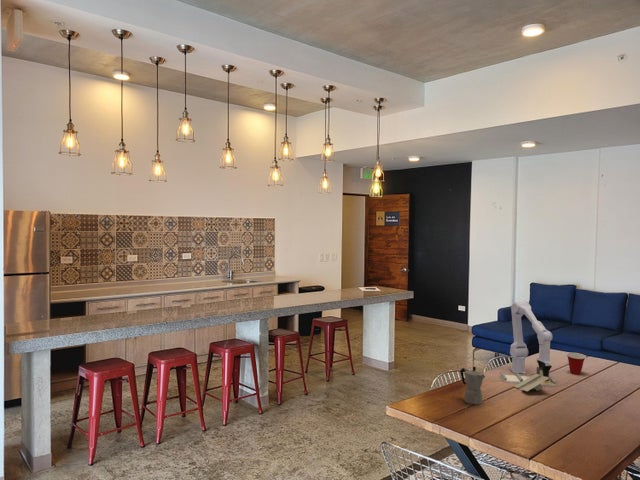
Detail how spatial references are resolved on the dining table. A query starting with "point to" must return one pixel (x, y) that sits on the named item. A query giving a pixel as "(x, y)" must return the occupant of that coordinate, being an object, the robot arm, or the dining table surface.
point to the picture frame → (541, 372)
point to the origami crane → (531, 383)
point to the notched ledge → (521, 378)
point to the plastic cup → (575, 362)
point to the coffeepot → (472, 385)
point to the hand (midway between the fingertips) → (543, 374)
